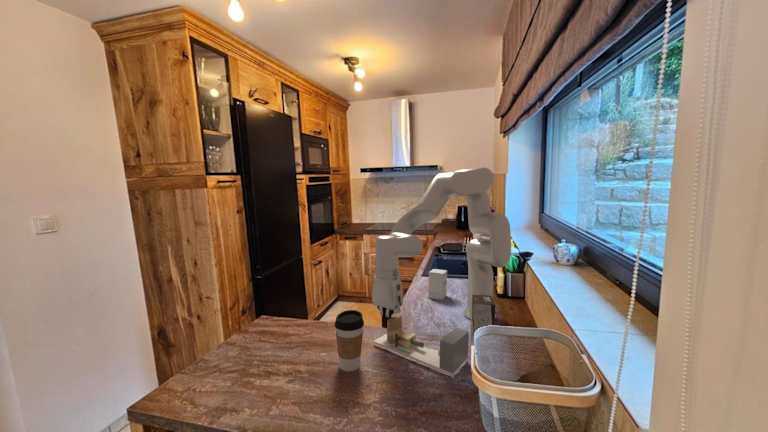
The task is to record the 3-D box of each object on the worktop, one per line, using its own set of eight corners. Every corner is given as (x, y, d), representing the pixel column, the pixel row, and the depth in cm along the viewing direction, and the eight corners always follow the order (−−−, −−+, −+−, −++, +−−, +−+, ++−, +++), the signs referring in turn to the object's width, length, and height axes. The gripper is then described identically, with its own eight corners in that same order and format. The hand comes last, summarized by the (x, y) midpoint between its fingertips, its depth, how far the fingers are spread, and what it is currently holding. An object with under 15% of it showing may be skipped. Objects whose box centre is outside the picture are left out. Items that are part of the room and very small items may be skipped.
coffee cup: (368, 360, 90) (368, 311, 89) (357, 376, 82) (356, 323, 81) (343, 355, 93) (342, 308, 92) (329, 370, 85) (328, 319, 84)
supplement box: (443, 300, 140) (443, 273, 139) (427, 298, 143) (428, 271, 142) (447, 295, 147) (447, 270, 146) (432, 293, 150) (432, 268, 149)
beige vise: (373, 345, 99) (373, 317, 98) (392, 334, 107) (392, 308, 106) (452, 378, 82) (453, 344, 81) (467, 362, 89) (468, 331, 89)
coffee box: (494, 356, 93) (496, 304, 92) (472, 353, 94) (473, 303, 93) (490, 341, 102) (491, 294, 100) (470, 339, 103) (471, 293, 102)
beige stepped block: (384, 343, 97) (384, 321, 96) (398, 335, 103) (398, 314, 102) (415, 356, 90) (415, 332, 89) (427, 346, 95) (428, 323, 95)
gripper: (412, 274, 98) (411, 329, 100) (376, 267, 108) (376, 317, 109) (398, 279, 93) (397, 337, 94) (362, 271, 102) (362, 324, 103)
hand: (386, 326), depth 102 cm, fingers closed
